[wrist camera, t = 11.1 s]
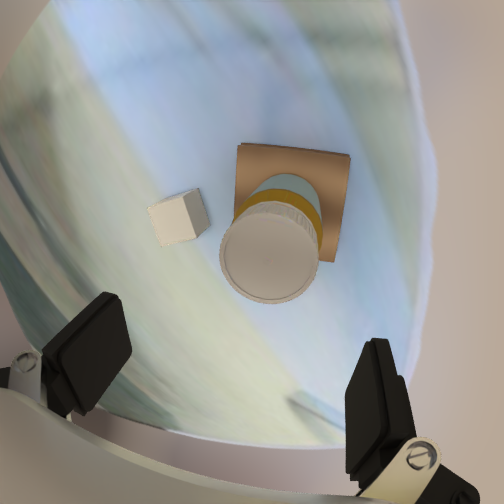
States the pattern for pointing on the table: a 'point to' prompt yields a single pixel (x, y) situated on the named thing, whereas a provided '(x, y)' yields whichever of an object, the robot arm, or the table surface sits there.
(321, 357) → the table surface
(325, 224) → the plinth
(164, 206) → the stone cube
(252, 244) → the bottle
